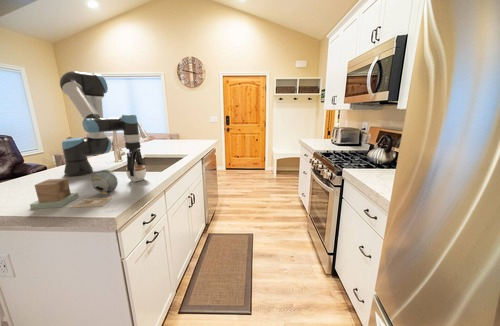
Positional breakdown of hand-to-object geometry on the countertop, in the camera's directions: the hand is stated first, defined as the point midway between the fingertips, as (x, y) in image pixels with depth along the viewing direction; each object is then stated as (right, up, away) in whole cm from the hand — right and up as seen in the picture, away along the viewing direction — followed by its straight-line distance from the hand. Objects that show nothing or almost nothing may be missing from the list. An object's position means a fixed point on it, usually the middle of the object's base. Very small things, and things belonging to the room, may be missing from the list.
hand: (137, 178), depth 130 cm
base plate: (-22, -9, -30) cm, 38 cm away
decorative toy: (-6, -7, -19) cm, 21 cm away
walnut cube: (-22, -7, -30) cm, 38 cm away
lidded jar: (0, -1, 0) cm, 1 cm away
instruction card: (-5, -9, -31) cm, 32 cm away
